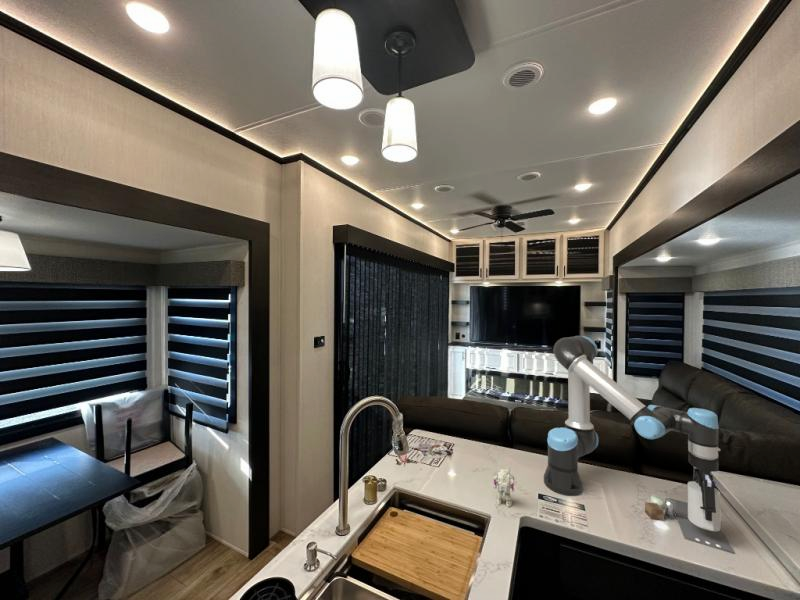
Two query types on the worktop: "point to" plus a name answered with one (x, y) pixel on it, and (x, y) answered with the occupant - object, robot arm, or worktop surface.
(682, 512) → the pad two
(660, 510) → the walnut block
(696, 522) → the white cylinder
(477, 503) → the worktop surface
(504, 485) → the figurine
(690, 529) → the pad three
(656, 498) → the pale green domed piece
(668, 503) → the metal peg
